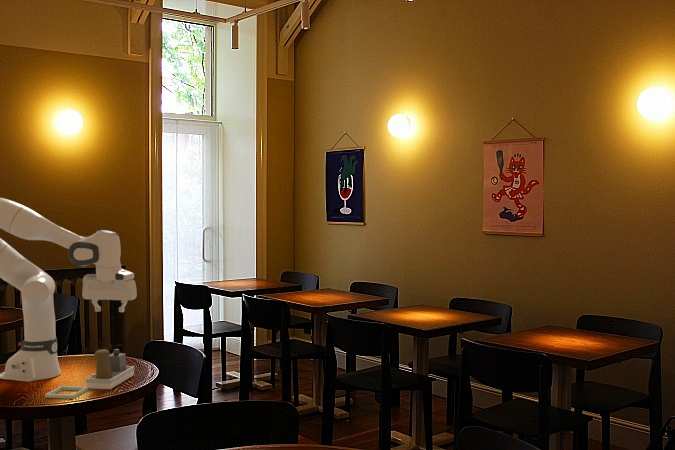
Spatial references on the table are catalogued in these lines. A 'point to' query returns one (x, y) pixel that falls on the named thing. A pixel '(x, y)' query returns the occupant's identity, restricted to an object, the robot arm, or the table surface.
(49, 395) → the tray frame
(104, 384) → the white low container
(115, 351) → the grey knobbed block
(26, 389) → the table surface
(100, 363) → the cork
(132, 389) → the table surface
